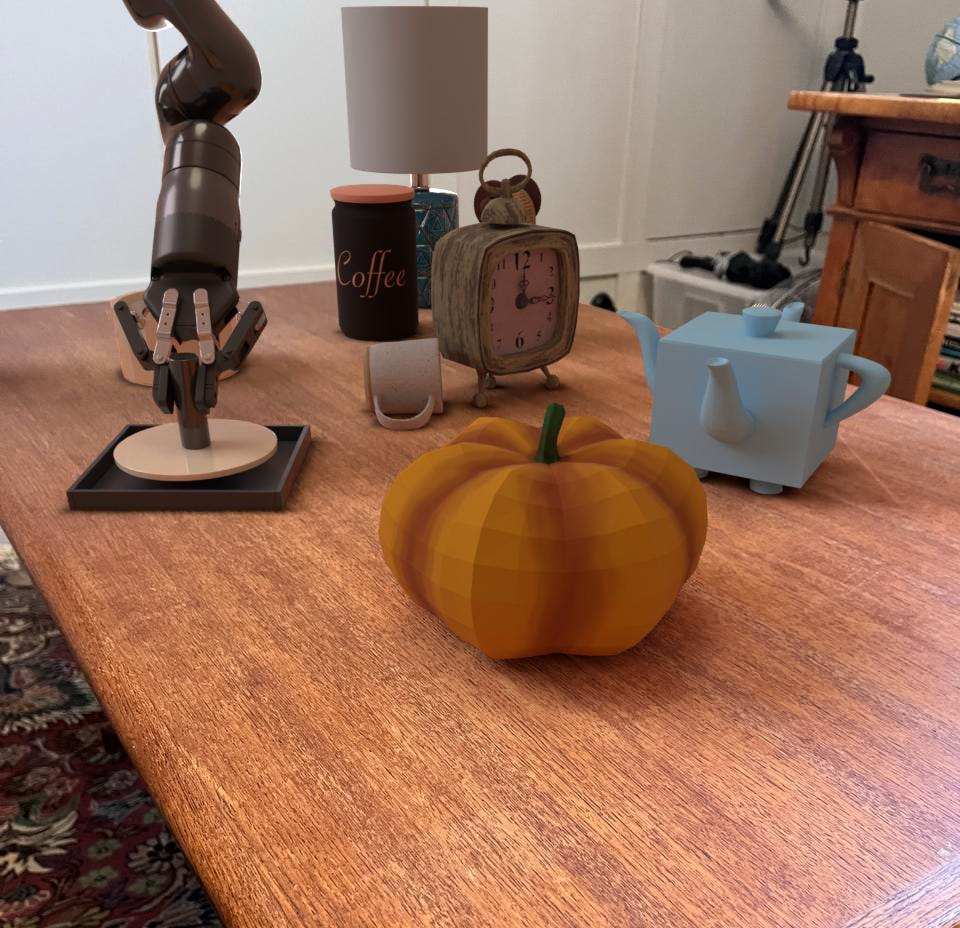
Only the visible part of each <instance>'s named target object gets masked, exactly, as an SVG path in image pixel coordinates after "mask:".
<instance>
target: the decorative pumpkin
mask: <svg viewBox="0 0 960 928" xmlns="http://www.w3.org/2000/svg"><path fill="white" fill-rule="evenodd" d="M566 414H567V411H566V409H565V407H564V404H560V403H558V402H557V401H554V402H551V403H549V404H548V405H547V407H546V410H545V414H544V417H543V421H542V426H533V425H530V424H527V423H524V422H521V421H517V420H515V419H514V420H513V419H508V418H504V417H498V416H497V417H496V416H495V417H493V416H492V417H490V416H487V417H486V416H485V417H483V416H482V417H478V418H477V419H475V420H474V421H473V422H471V423H470V424H469V425H468V426H467V427H466V428H465V429H463V430H462V431H461V432H459V433H458V434H457V435H455V436H454V437H453V438H451V439H449V440H448V441H447V442H445V443H444V444H443V445H442V447H440V448H438V449H434V450H431V451H428V452H424V454H422V455H421V456H419V457H418V458H417V459H416V460H415V461H413V462H412V463H411V464H410V465H408V466H407V467H405V468H404V469H403V470H401V472H399V473H398V474H397V476H396V477H395V479H394V481H393V482H392V483H391V484H392V485H391V486H390V487H389V490H388V491H387V492H386V494H385V496H384V499H383V500H382V502H381V509H380V515H379V522H378V528H377V529H378V530H377V534H378V538H379V542H380V547H381V550H382V554H383V558H384V563H385V564H386V566H387V568H388V569H389V571H390V572H391V574H392V575H393V576H394V579H395V580H396V581H397V583H398V585H399V586H400V588H401V589H402V590H403V591H404V593H405V594H406V595H407V596H408V597H409V598H410V600H411V601H412V602H413V603H414V604H415V605H417V606H419V607H420V608H422V609H424V610H425V611H426V612H427V613H430V614H431V615H433V617H435V618H437V619H438V620H439V621H441V622H442V624H444V625H445V626H446V627H447V628H448V629H449V630H450V631H451V632H452V633H453V634H454V635H455V636H457V637H458V638H460V639H462V640H463V641H464V642H466V643H468V644H470V645H471V646H473V647H475V648H476V649H477V650H479V651H481V652H482V653H483V654H485V655H486V656H488V657H489V658H491V659H492V660H509V659H511V660H512V659H524V658H530V657H531V658H532V657H538V656H544V655H550V654H566V655H575V656H576V655H577V656H587V657H591V656H596V657H597V656H617V655H618V654H620V653H622V652H624V651H627V650H629V649H631V648H633V647H635V646H637V645H638V644H639V643H640V642H641V641H642V640H643V639H644V638H645V637H646V636H647V635H648V634H649V633H650V632H652V631H653V630H654V629H655V628H656V626H657V625H658V624H659V622H661V621H662V619H663V617H664V616H665V615H666V614H667V613H668V611H669V610H670V609H671V608H672V606H673V604H674V602H675V601H676V599H677V598H678V596H679V594H680V592H681V591H682V589H683V587H684V586H685V584H687V582H688V581H689V580H690V578H691V577H692V575H693V574H694V573H695V572H696V570H697V568H698V566H699V563H700V560H701V556H702V555H703V551H704V547H705V544H706V541H707V534H708V526H709V519H708V517H709V516H708V502H707V493H706V490H705V489H704V487H703V485H702V482H701V481H700V478H698V477H697V475H696V473H695V471H694V469H693V467H692V466H690V465H689V464H688V463H687V462H685V461H684V460H683V459H682V458H680V457H679V456H678V455H677V454H675V453H674V452H673V451H672V450H670V449H669V448H667V447H663V446H659V445H655V444H651V443H649V442H647V441H643V440H639V439H636V438H635V439H634V438H625V437H623V436H622V435H621V434H620V433H619V432H618V431H616V429H613V428H612V427H611V426H609V425H608V424H606V423H604V422H602V421H601V420H600V419H598V418H596V417H595V416H594V415H592V414H587V415H576V416H572V417H568V418H565V417H566Z"/></svg>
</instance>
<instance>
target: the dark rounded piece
mask: <svg viewBox="0 0 960 928" xmlns="http://www.w3.org/2000/svg"><path fill="white" fill-rule="evenodd" d="M526 177H527V174H520V173H519V174H515V175H513V176H511V177H509V180H510V182H511V186H515V185H517V184H519V183H521V182H522V181H523V180H524V179H525V178H526ZM484 182H485V183H487V184H488V185H489V186H492V187H495V188H501V181H500V180H497V179H489V180H487V181H484ZM496 198H501V195H495V194H492V193H489V192H487V191H486V190H485V189H484V188H483V187H482V186H481V185H480V186H478V187H477V189H476V191H475V193H474V198H473V211H474V214H475V217H476V219H477V221H478V223H481V222H482V221H481V216H482V212H483V210H484V208H485V206H486V205H487V204H488V203H489V202H490V201H491V200H493V199H496ZM510 198H515V199H518V200H520V201H521V202H522V204H523V205H524V206H525V208H526V210H527V212H528V215H529V218H530V221H528V222H524V223H529V224H535V225H537V216H538V215H539V213H540V211H541V206H542V193H541V190H540V187H539V185H538V183H537V182H536V181H535V180H534V178H533V177H531V178H530V180H529V182H528V183H527V185H526V186H525V187H524V188H523V189H521V190H520V191H518V192H516V193H513V194H511V197H510Z"/></svg>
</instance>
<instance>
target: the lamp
mask: <svg viewBox="0 0 960 928" xmlns="http://www.w3.org/2000/svg"><path fill="white" fill-rule="evenodd" d="M340 12H341V14H340V15H341V16H340V17H341V31H342V47H343V49H342V50H343V64H344V65H343V66H344V80H345V81H344V82H345V83H344V84H345V97H346V99H345V100H346V112H347V113H346V114H347V115H346V116H347V132H348V133H347V134H348V146H349V147H348V148H349V165H350V169H353V170H356V171H360V172H366V173H375V174H393V175H410V186H409V187H412V188H413V189H415V197H414V198H413V200H412V201H411V205H412V206H413V208H414V209H415V212H416V244H417V279H418V309H432V303H431V275H432V259H433V252H434V248H435V245H436V242H437V241H438V240H439V239H440V238H442V237H443V236H444V235H446V234H447V233H449V232H450V231H452V230H454V229H456V228H460V203H459V201H460V200H459V195H458V194H457V193H456V192H453V191H450V190H446V189H441V188H431V186H430V184H429V175H438V174H454V173H457V174H458V173H467V172H474V171H479V170H480V167H481V164H482V162H483V161H484V159H485V158H486V157H487V156H488V155H489V154H488V153H489V150H488V143H489V142H488V139H489V138H488V137H489V134H488V132H489V131H488V130H489V128H488V126H489V124H488V122H489V113H488V112H489V93H488V92H489V7H488V6H487V7H486V6H464V5H463V6H459V5H456V6H455V5H453V6H452V5H451V6H450V5H440V6H439V5H378V6H377V5H371V6H370V5H369V6H366V5H365V6H361V5H360V6H341V7H340ZM488 165H489V164H488ZM488 165H487V166H486V168H487V167H488Z"/></svg>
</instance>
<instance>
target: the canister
mask: <svg viewBox="0 0 960 928" xmlns="http://www.w3.org/2000/svg"><path fill="white" fill-rule="evenodd" d="M145 290H146V289H142V290H135V291H131V292H127V293H124V294H121V295H117V296H116V297H115V298H113V299H112V300H110V301H109V307H110V313H111V318H112V323H113V324H112V325H113V330H114V334H115V341H116V345H117V351H118V356H119V363H120V367H121V372H122V376H123V378H124V379H125V380H127V381H128V382H130V383H133V384H136V385H141V386H146V387H147V386H148V387H153V377H154V371H152V370H151V371H146V370H144V369H143V367H142V366H141V364H140V363H139V361H138V360H137V358H136V357H135V355H134V354H133V351H132V349H131V347H130V345H129V342H128V340H127V338H126V336H125V333H124V331H123V329H122V327H121V324H120V322H119V320H118V317H117V315H116V313H115V311H114V304H115V303H116V302H118V301H124V302H126V304H127V305H129V304H131V303H134V302H136V301H139V300H141V299H143V294H144V292H145ZM145 320H146V325H145V328H144V329H142V330H141V332H142V334H143V336H144V338H145V341H146V343H147V345H148V347H149V349H150V350H152V351H155V347H156V343H157V328H158V323H157V321H156V320H155V319H154V317H153V316H152V315H151V313H148V314H147V315H146V318H145ZM236 325H237V316H235V317H234V318H233V319H232V320H231V321H230V322H229V324H228V325H227V326H226V327H225V328H224V329H223V330H222V332H221V333H220V344H221V350H222V348H223V347H224V345H225V343H226V342H227V340H228V338H229V337H230V335H231V333H232V332H233V330H234V328H235V327H236ZM185 352H188V353H195V354H197V355H198V356H199V363H200V366H201V363H202V361H201V355H200V343H199V341H197V340H190V341H186V342H184V346H183V350H182V353H185ZM239 371H240V369H239V370H238V371H232V370H227V371H224V372H222V373H221V374H220V376H219V381H221V380H224V379H227V378H229V377H231V376H233V375H235V374H237V373H238V372H239Z"/></svg>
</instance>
